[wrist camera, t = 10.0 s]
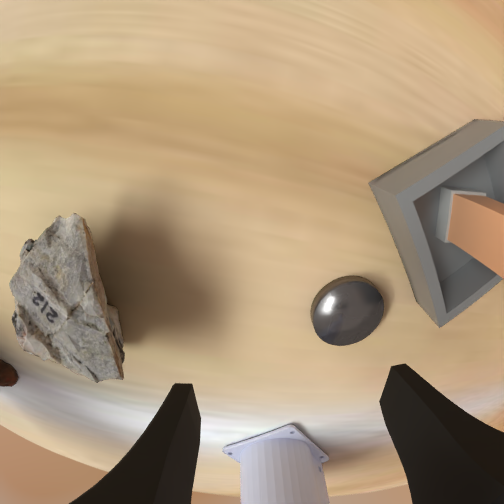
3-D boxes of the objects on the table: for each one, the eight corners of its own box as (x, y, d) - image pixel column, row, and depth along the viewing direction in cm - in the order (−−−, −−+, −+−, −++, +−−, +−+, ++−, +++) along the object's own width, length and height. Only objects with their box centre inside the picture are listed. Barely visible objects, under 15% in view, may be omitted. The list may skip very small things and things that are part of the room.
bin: (504, 235, 19) (532, 251, 15) (416, 301, 20) (439, 328, 17) (474, 119, 15) (509, 122, 12) (368, 183, 17) (395, 195, 14)
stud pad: (387, 314, 21) (392, 321, 20) (328, 347, 22) (331, 356, 21) (363, 262, 19) (369, 268, 18) (297, 300, 20) (300, 308, 19)
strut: (475, 189, 17) (547, 219, 10) (469, 235, 18) (534, 277, 11) (440, 186, 17) (515, 218, 10) (435, 236, 18) (501, 283, 11)
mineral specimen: (87, 259, 24) (188, 284, 22) (58, 347, 21) (157, 392, 19) (11, 203, 15) (122, 219, 13) (-31, 320, 12) (66, 392, 10)
